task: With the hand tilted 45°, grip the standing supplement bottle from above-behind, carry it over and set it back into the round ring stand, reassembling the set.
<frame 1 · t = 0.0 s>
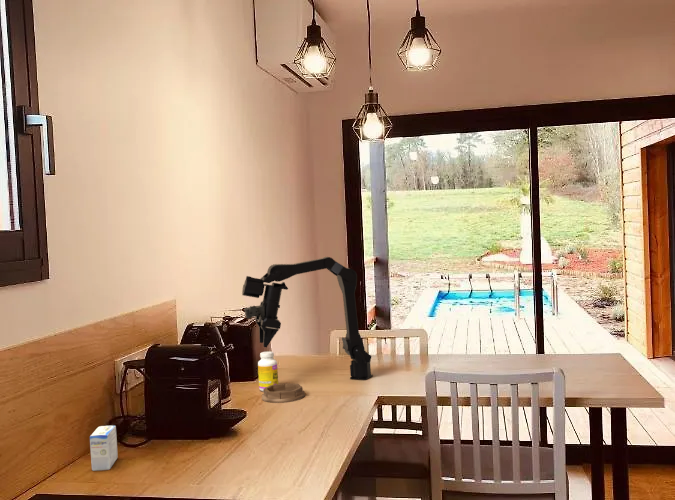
hand: (263, 344, 233), 15 cm above the table, tool pointing down, fingers open, 9 cm apart
cup stand: (283, 397, 222), on the table
medicine box: (105, 465, 166), on the table
supplement bottle: (269, 390, 233), on the table
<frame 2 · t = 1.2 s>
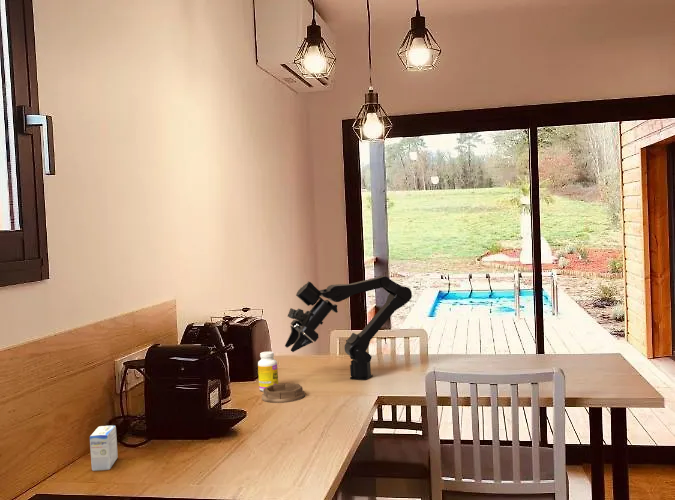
hand: (288, 348, 234), 13 cm above the table, tool tilted 45°, fingers open, 9 cm apart
nothing on the table moved.
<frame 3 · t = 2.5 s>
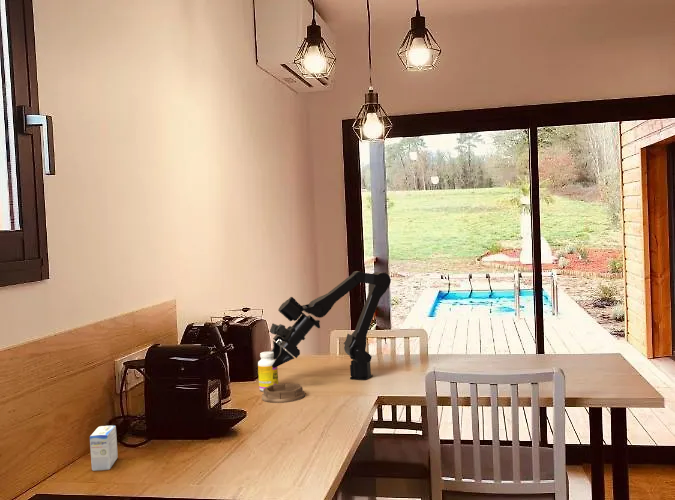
hand: (270, 364, 233), 9 cm above the table, tool tilted 45°, fingers open, 9 cm apart
nothing on the table moved.
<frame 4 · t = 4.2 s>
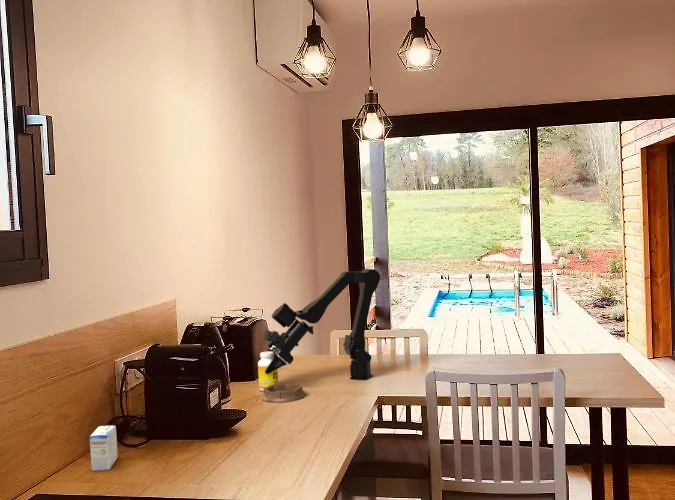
hand: (263, 371, 232), 7 cm above the table, tool tilted 45°, fingers closed on supplement bottle, 6 cm apart
supplement bottle: (269, 390, 233), on the table, touching gripper
everything else where it was.
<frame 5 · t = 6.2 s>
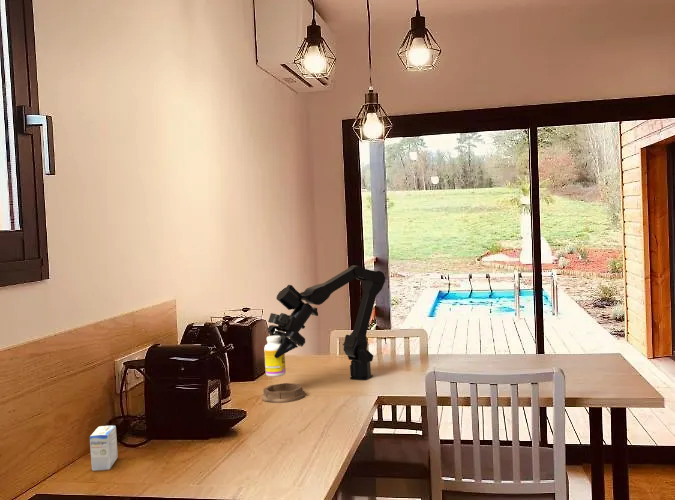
hand: (270, 355, 224), 13 cm above the table, tool tilted 45°, fingers closed on supplement bottle, 6 cm apart
supplement bottle: (275, 375, 225), point 6 cm above the table, touching gripper
everything else where it was.
when the fingers open (9 cm above the table, at t = 8.5 s): supplement bottle drops 1 cm, resting on cup stand.
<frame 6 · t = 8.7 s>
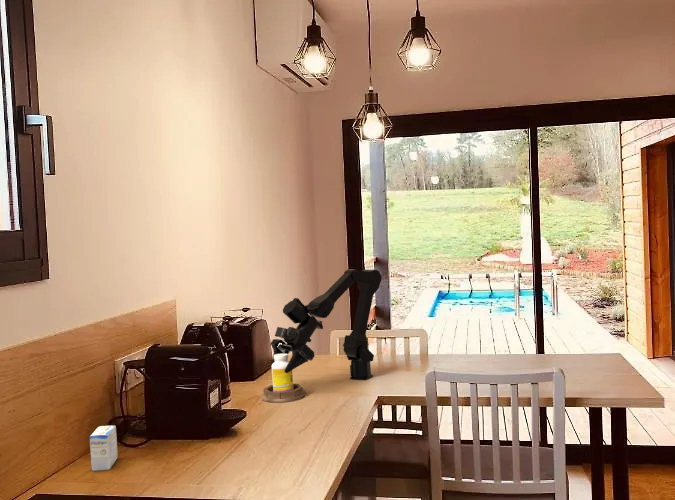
hand: (278, 370, 220), 9 cm above the table, tool tilted 45°, fingers open, 8 cm apart
supplement bottle: (283, 394, 222), point 1 cm above the table, touching cup stand
everything else where it was.
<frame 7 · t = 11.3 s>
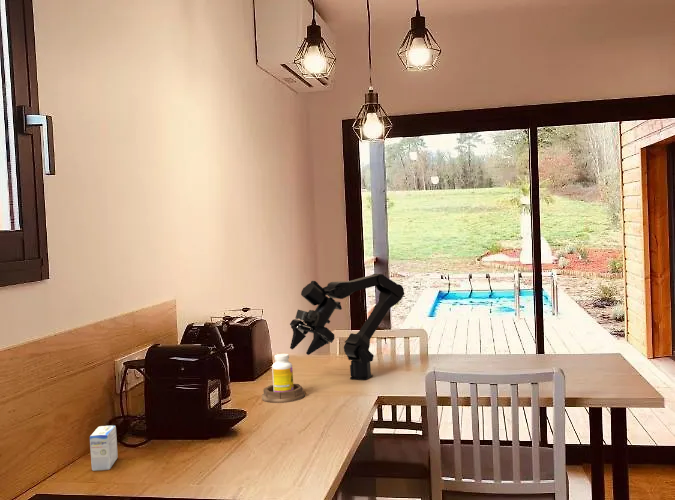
hand: (299, 351, 228), 13 cm above the table, tool tilted 40°, fingers open, 9 cm apart
nothing on the table moved.
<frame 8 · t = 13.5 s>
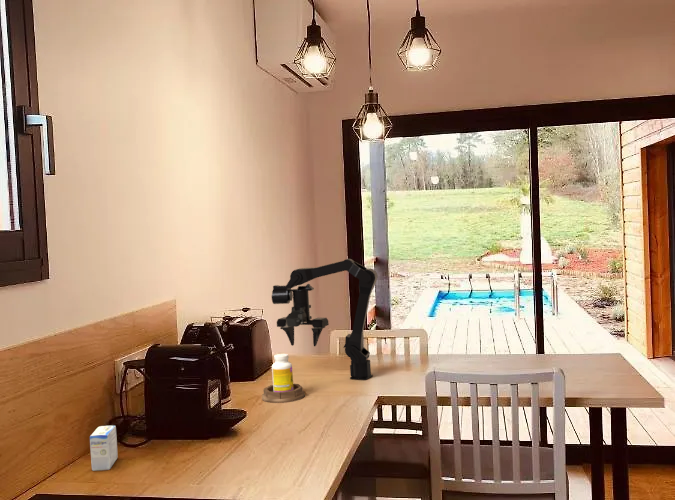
hand: (303, 345, 246), 12 cm above the table, tool pointing down, fingers open, 9 cm apart
nothing on the table moved.
at the end: supplement bottle 0.2 cm off-centre on the cup stand, point 0.8 cm above the cup stand's base; supplement bottle tilted 0°; the gripper is holding nothing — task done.
